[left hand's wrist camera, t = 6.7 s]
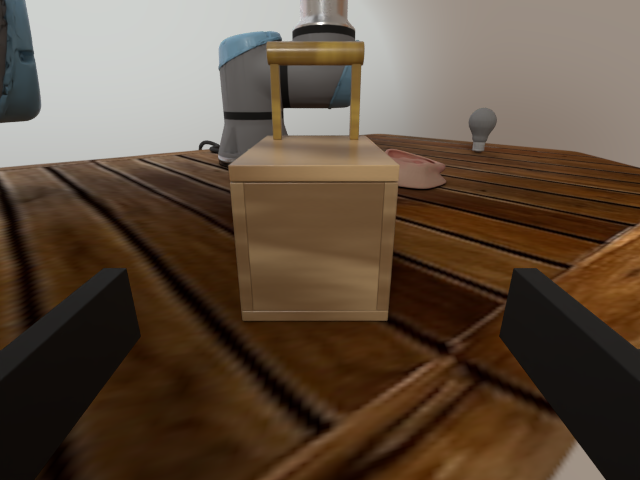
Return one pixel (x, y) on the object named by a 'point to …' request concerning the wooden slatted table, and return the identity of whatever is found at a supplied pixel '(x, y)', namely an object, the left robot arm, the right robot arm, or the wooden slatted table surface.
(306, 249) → the chest
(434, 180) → the anatomical model
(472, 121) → the light bulb
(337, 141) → the lid
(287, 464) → the wooden slatted table surface
